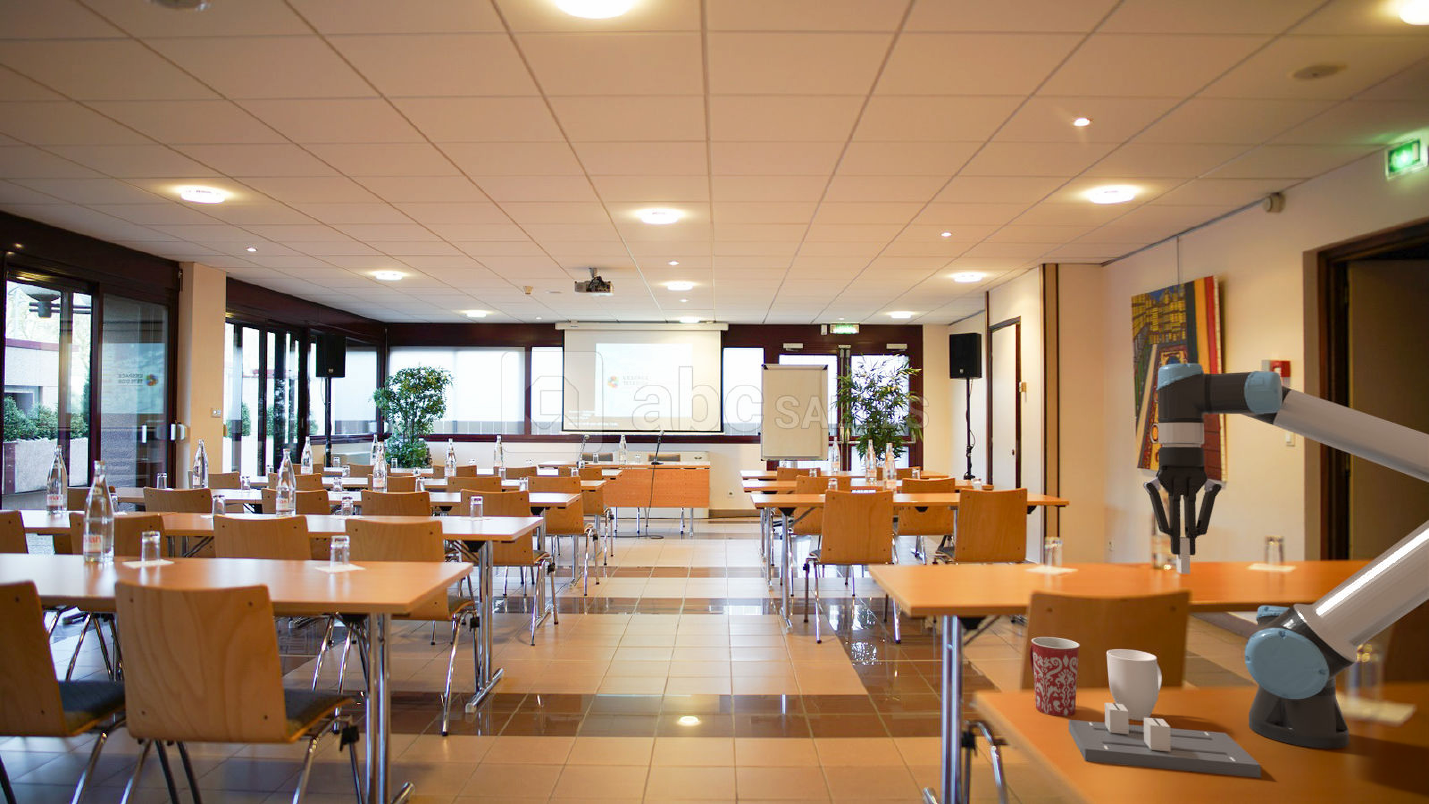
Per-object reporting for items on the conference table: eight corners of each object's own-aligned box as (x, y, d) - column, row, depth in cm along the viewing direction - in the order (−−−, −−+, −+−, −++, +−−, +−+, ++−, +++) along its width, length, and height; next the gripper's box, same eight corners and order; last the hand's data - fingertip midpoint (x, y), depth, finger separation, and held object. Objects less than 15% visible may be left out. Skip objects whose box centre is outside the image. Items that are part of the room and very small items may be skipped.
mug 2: (1138, 726, 154) (1135, 661, 154) (1099, 713, 162) (1096, 651, 162) (1180, 717, 158) (1177, 655, 159) (1139, 705, 166) (1137, 646, 167)
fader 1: (1123, 726, 147) (1122, 703, 147) (1128, 734, 143) (1128, 710, 143) (1105, 725, 147) (1104, 702, 148) (1110, 732, 144) (1109, 709, 144)
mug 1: (1090, 717, 158) (1089, 647, 159) (1046, 718, 157) (1046, 648, 158) (1054, 697, 171) (1054, 632, 172) (1014, 698, 170) (1013, 633, 170)
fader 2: (1163, 742, 139) (1162, 718, 139) (1170, 751, 135) (1170, 726, 135) (1144, 741, 140) (1143, 716, 140) (1150, 749, 136) (1150, 724, 136)
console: (1225, 744, 144) (1225, 732, 145) (1260, 777, 130) (1260, 764, 130) (1068, 730, 151) (1068, 719, 151) (1085, 761, 136) (1085, 748, 136)
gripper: (1212, 446, 155) (1215, 571, 154) (1137, 445, 158) (1139, 568, 157) (1227, 446, 148) (1230, 577, 146) (1148, 445, 151) (1150, 574, 149)
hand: (1183, 572), depth 152 cm, fingers closed
